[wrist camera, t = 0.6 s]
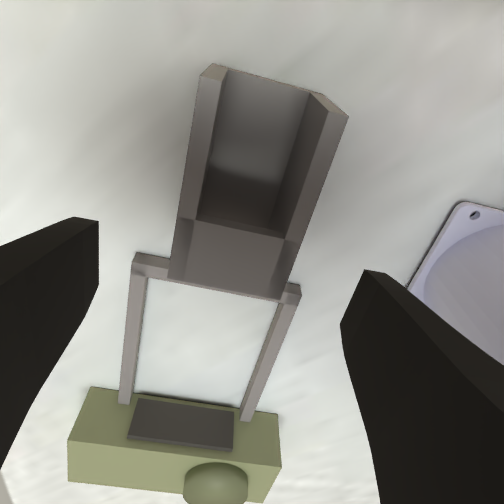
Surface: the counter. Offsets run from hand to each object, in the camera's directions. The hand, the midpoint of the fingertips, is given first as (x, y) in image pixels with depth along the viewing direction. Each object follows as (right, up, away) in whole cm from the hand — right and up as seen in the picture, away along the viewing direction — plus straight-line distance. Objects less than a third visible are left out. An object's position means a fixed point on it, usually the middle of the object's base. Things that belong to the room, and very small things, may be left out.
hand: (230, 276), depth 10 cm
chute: (0, +5, +8) cm, 10 cm away
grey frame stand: (-3, -7, +15) cm, 17 cm away
